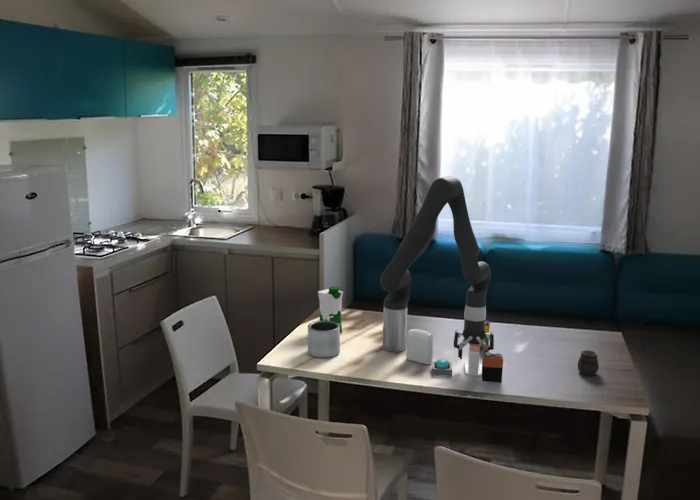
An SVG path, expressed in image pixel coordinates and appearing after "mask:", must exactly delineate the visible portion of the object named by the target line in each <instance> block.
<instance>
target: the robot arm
mask: <svg viewBox="0 0 700 500" xmlns="http://www.w3.org/2000/svg"><path fill="white" fill-rule="evenodd" d="M465 196H466V195H465V192H464V188H463V184H462V182H461V180H460V178H458V177H456V176H452V175H450V176H449V175H448V176H441V177H438V178H436V179H435V180H434V181H433V182H432V183H431V185H430V187H429V188H428V191H427V194H426V196H425V198H424V201H423V203H422V205H421V207H420V209H419V211H418V212H417V214H416V216H415V218H414V219H413V222H412V223H411V225H410V226H409V228H408V230H407V231H406V233H405V236H404V237H403V239H402V241H401V242H400V245H399V246H398V248H397V250H396V252H395V253H394V255H393V257H392V259H391V260H390V262H389V263H388V264H387V266H386V267H385V268H384V270H383V271H382V273H381V275H380V280H379V281H380V286H381V288H382V290H384V291H386V292H388V293H387V296H386V297H385V298H384V299H383V324H382V345H381V346H382V350H384V351H387V352H391V353H393V352H394V353H399V352H402V351H406V350H407V333H408V331H407V329H408V328H407V327H408V303H409V301H410V297H411V284H412V279H411V278H412V277H411V273H410V271H409V268H410V266H412V264H413V263H414V262H415V261H416V260H418V258H419V257H421V255H422V254H423V253H424V252H425V250H427V248H428V246H429V244H430V243H431V241H432V239H433V238H434V236H435V232H436V227H437V219H438V218H439V215H440V214H441V212H442V211H443V209H444V208H445V207H446V205H447V204H448V207H449V208H450V212H451V215H452V220H453V224H452V225H453V226H452V227H453V236H454V237H453V239H454V240H455V244H456V247H457V249H458V252H459V255H460V262H461V263H460V264H461V271H462V275H463V277H464V279H465V281H467V283H468V284H470V287H469V288H468V289H467V290H466V294H465V295H466V296H465V307H464V314H463V315H464V317H463V319H464V321H463V330H462V331H459V330H458V329H456V330H455V331H454V336H453V337H454V338H453V348H455V349H458V351H457V356H458V359H459V360H462V359H463V348H465V346H467V345H468V344H481V346H482V347H483V348H484V350H483V354H484V353H486V352H490V351H493V350H494V349H495V347H494V346H495V345H494V343H495V341H494V340H495V339H494V338H495V337H494V332H493V331H489V333H485V323H486V320H487V319H486V317H487V307H486V306H487V305H486V304H487V292H488V291H489V287H490V286H489V285H490V282H491V276H492V271H491V268H490V265H489V264H488V263H487V262H485V261H481V260H480V261H478V255H479V254H480V247H479V244H478V242H477V238H476V235H475V233H474V230H473V227H472V223H471V220H470V217H469V211H468V207H467V203H466V197H465ZM461 336H462V337H463V339H462V340H461V342H460V343H458V342H459V338H461ZM486 336H487V337H488V339H489V346H487V345H486V343H485V342H484V340H483V339H484V338H485V337H486Z"/></svg>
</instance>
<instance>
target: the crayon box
mask: <svg viewBox="0 0 700 500" xmlns="http://www.w3.org/2000/svg"><path fill="white" fill-rule="evenodd" d="M490 325H491V322H490V321H489V320H487V319H486V321H485V333H490ZM483 340H484V342H485V343H486V345H487V346H489V345H490V339H488V337H487V336H486V337H485V338H484V339H483ZM479 345H480V350H481V351H484V348H483V347H482V346H481V344H479Z"/></svg>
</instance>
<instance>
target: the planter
mask: <svg viewBox="0 0 700 500" xmlns="http://www.w3.org/2000/svg"><path fill="white" fill-rule="evenodd" d="M340 337H341V333H340V325H339V324H338V323H336V322H332V321H320V320H317V321H312V322H310V323H308V325H307V353H308V355H310V356H311V357H315V358H318V359H319V358H320V359H327V358H332V357H333V358H334V357H335V356H337V355H339V354H340V351H341V338H340Z"/></svg>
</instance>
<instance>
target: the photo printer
mask: <svg viewBox="0 0 700 500" xmlns="http://www.w3.org/2000/svg"><path fill="white" fill-rule="evenodd" d="M433 341H434V336H433V334H431V333H430V332H428V331H425V330H424V329H419V328H411V329H409V330H408V331H407V335H406V355H405V357H406V360H408V361H411V362H415V363H419V364H424V365H430V364H433V349H434V348H433V347H434V346H433V344H434V343H433Z"/></svg>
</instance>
